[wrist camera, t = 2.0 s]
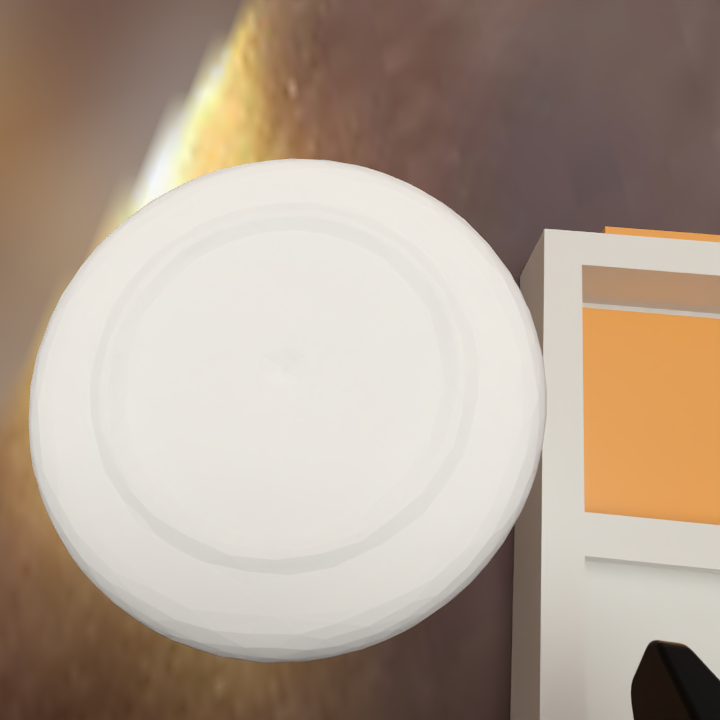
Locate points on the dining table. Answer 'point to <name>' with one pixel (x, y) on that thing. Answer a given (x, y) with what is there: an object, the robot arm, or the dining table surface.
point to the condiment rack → (619, 468)
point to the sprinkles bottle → (287, 410)
